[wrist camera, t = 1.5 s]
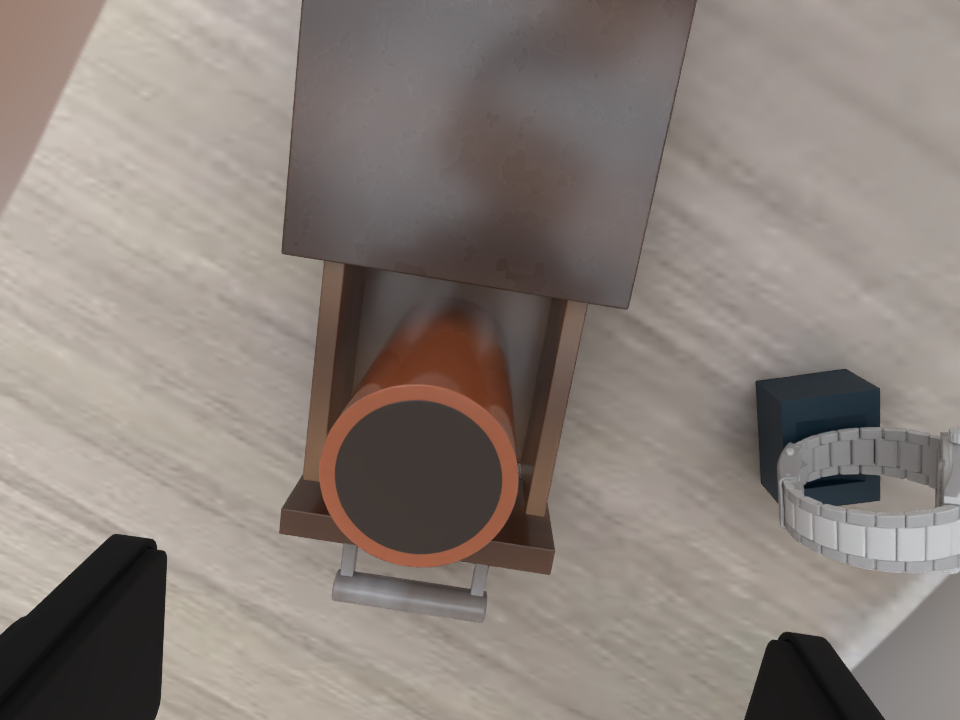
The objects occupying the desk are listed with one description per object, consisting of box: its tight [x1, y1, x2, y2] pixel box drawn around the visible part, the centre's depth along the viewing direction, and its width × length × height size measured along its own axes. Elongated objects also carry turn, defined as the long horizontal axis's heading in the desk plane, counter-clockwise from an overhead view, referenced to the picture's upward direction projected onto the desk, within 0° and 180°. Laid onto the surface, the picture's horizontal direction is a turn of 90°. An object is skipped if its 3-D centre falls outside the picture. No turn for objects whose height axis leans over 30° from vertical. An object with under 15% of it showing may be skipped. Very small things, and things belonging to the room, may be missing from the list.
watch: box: [756, 369, 960, 574], centre depth 29 cm, size 6×8×11 cm
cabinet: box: [282, 0, 697, 310], centre depth 27 cm, size 15×13×8 cm
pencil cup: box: [319, 297, 519, 567], centre depth 26 cm, size 6×6×13 cm
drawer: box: [279, 261, 588, 623], centre depth 31 cm, size 18×11×6 cm, turn 171°
